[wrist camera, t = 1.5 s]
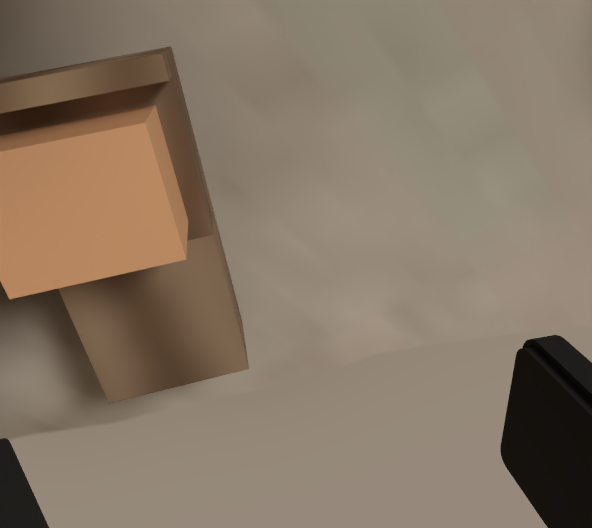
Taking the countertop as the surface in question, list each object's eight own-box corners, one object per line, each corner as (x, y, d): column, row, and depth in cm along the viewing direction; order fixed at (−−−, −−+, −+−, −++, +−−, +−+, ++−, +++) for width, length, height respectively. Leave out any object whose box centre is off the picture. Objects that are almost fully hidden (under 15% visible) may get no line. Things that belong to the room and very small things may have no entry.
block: (155, 104, 22) (145, 122, 18) (188, 220, 24) (186, 259, 20) (-10, 137, 21) (-59, 163, 17) (41, 252, 23) (9, 299, 19)
